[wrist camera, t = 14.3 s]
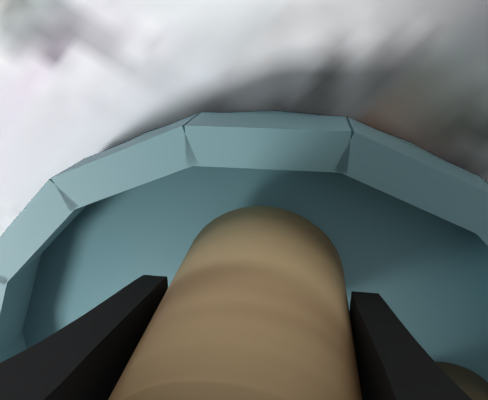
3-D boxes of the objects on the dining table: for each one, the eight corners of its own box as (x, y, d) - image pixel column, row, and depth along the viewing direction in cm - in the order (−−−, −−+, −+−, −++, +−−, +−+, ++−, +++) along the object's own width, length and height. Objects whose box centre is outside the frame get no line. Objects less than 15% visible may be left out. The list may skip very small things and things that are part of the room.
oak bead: (337, 350, 12) (360, 607, 7) (189, 336, 13) (101, 562, 7) (351, 211, 11) (397, 400, 5) (181, 201, 11) (62, 365, 6)
